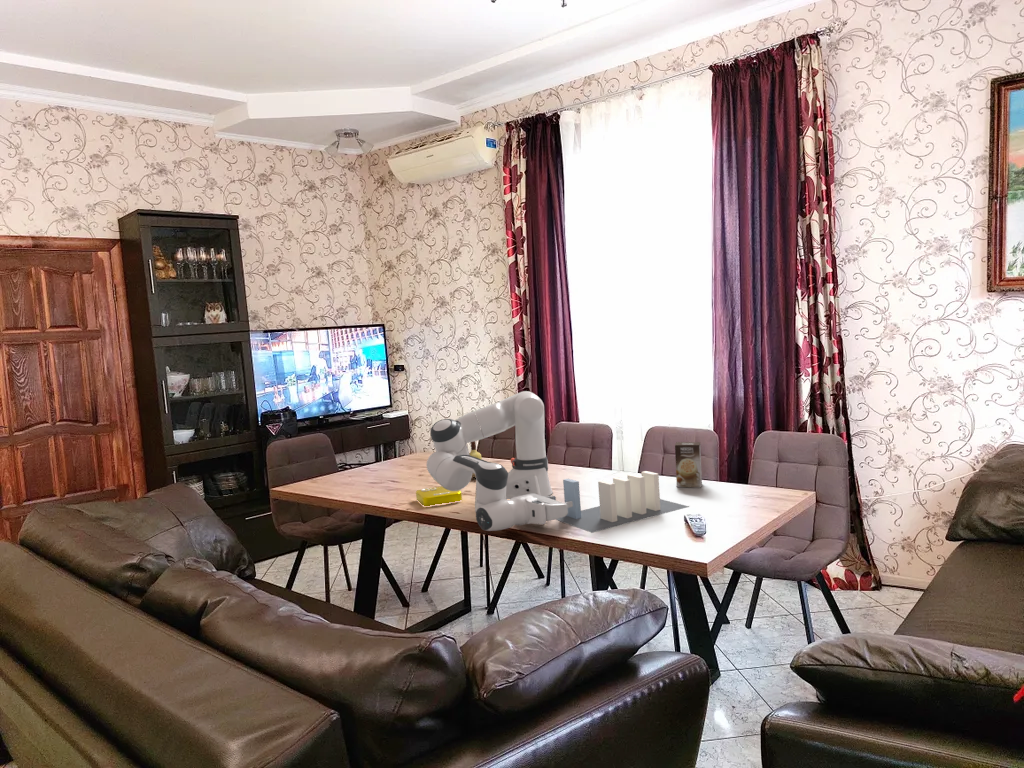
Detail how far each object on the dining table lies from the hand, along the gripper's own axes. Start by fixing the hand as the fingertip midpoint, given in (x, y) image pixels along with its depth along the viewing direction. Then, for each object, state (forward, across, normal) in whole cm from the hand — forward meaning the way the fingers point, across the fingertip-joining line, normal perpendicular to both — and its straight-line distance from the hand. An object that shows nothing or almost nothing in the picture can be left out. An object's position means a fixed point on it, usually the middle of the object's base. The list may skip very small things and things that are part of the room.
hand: (562, 500), depth 225 cm
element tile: (-18, -58, -8) cm, 61 cm away
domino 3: (+22, +11, -6) cm, 25 cm away
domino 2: (+16, +11, -6) cm, 20 cm away
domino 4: (+28, +11, -6) cm, 30 cm away
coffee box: (+61, -5, -7) cm, 62 cm away
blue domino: (+4, 0, -6) cm, 7 cm away
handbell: (+20, -100, -8) cm, 102 cm away
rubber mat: (+18, +7, -7) cm, 20 cm away
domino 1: (+10, +11, -6) cm, 16 cm away
